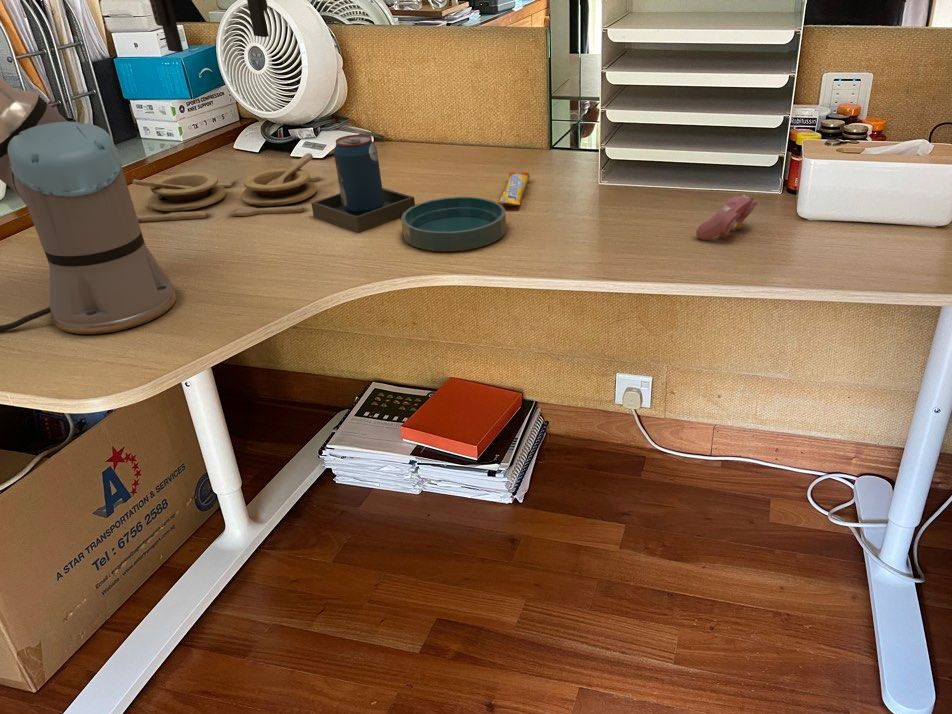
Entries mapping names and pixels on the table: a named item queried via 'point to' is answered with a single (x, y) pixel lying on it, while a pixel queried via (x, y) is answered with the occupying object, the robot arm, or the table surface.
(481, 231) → the teal round dish
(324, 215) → the tray
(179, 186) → the tableware set
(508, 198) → the candy bar
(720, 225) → the mauve toy shoe
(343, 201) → the soda can
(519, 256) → the table surface
